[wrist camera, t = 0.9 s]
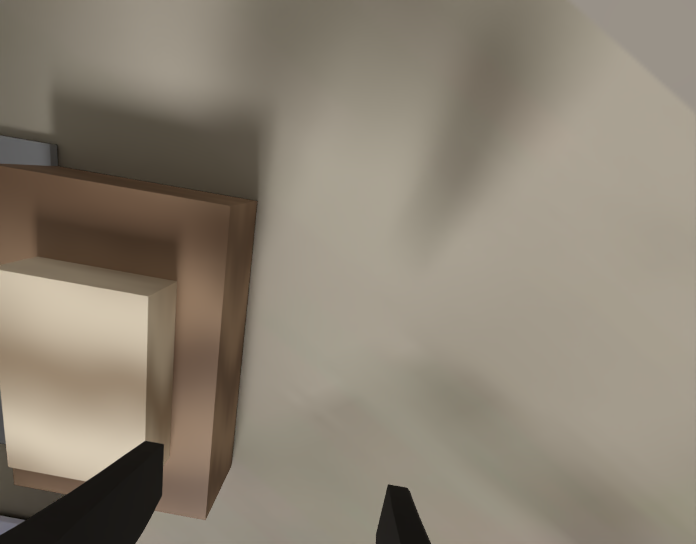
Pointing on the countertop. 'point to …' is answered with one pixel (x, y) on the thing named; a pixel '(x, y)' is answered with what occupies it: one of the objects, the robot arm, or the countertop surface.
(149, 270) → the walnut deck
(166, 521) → the countertop surface
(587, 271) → the countertop surface
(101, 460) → the birch tile
